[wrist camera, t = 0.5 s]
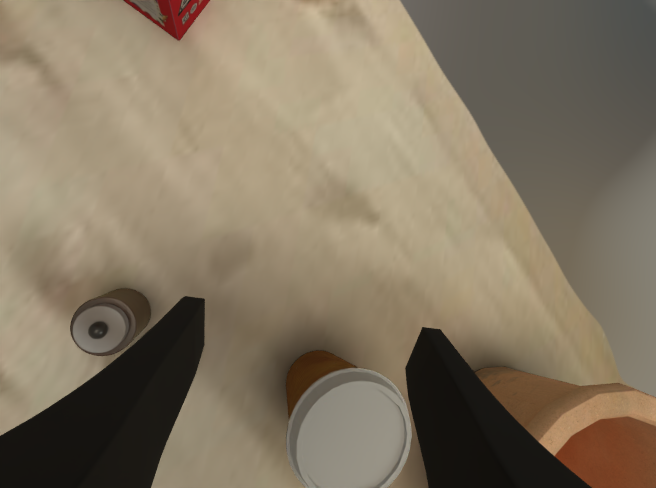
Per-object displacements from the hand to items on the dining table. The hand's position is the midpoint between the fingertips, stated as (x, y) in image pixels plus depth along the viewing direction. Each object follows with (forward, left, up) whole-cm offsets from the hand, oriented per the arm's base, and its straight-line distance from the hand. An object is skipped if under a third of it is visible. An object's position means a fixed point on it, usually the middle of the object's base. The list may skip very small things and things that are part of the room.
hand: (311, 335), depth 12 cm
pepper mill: (-9, +8, -25) cm, 27 cm away
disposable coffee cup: (-6, -11, -25) cm, 28 cm away
